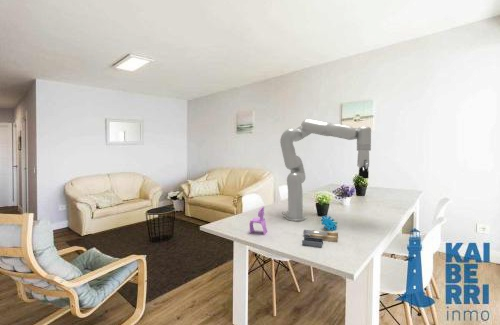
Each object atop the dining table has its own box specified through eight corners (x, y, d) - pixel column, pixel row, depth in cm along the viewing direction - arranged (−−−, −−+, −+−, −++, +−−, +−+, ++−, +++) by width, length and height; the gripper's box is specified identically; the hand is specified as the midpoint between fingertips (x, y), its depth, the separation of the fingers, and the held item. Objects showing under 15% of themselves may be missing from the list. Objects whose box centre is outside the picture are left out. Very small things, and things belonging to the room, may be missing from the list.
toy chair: (253, 229, 146) (253, 204, 145) (268, 231, 143) (267, 205, 142) (248, 234, 138) (248, 207, 138) (263, 236, 135) (263, 208, 134)
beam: (310, 239, 128) (310, 234, 128) (312, 234, 135) (312, 230, 135) (337, 242, 123) (337, 237, 123) (338, 237, 131) (338, 232, 130)
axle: (303, 236, 132) (303, 231, 131) (304, 234, 135) (304, 228, 134) (327, 239, 127) (327, 233, 127) (327, 236, 130) (327, 231, 130)
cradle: (302, 246, 120) (302, 240, 120) (304, 241, 126) (304, 236, 126) (321, 248, 117) (321, 243, 116) (323, 243, 123) (323, 238, 123)
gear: (326, 230, 137) (319, 214, 144) (320, 235, 141) (314, 219, 148) (342, 230, 141) (334, 214, 148) (336, 235, 145) (329, 220, 152)
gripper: (354, 148, 156) (354, 175, 157) (359, 148, 139) (359, 179, 140) (367, 148, 154) (367, 175, 155) (374, 148, 137) (374, 179, 138)
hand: (363, 177), depth 147 cm, fingers open, 9 cm apart
